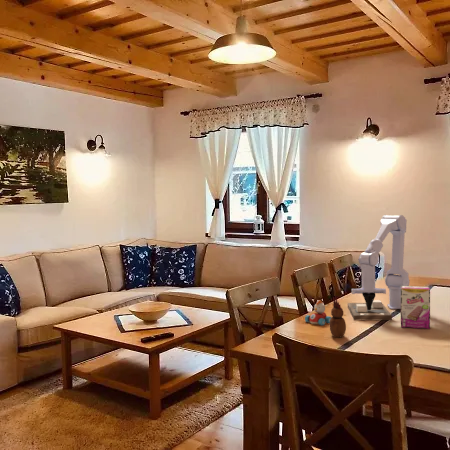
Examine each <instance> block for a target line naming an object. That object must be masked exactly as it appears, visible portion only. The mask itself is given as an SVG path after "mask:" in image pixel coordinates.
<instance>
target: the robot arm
mask: <svg viewBox="0 0 450 450" xmlns="http://www.w3.org/2000/svg"><path fill="white" fill-rule="evenodd" d="M407 221H408V220H407V219H406V217H405V216H404V215H403V214H399V215H394V214H392V215H390V214H384V215H382V217H381V219H380V228H379V229H378V232H377V234H376V236H375V238H373V239H371V240H370V242H369V243H368V245H367V246H366V249H365V250H364V252H362V253H360V254H359V256H358V264H359V266H360V267H359V268H360V269H361V287H360V288H351V294H353V295H355V294H362V297H363V299H364V301H365V302H364V303H366V305H367V309H368V310H371V306H372V303H373V300H375V299H376V294H385V295H386V294H387V289H388V291H389V292H388V296H389V297H388V301H389V303H388V304H387V307H388V308H389V309H390V310H401V286H410V278H409V272H407V270H405V269H404V259H405V258H404V257H405V234H406V233H407ZM389 234H391V236H392V244H391V245H392V246H391V247H392V248H391V268H389V269H388V270H387V271H386V274H385V278H384V283H385V286H386V287H387V289H386V288H381V287H379V288H377V287H376V265H377V263H378V261H379V259H378V258H379V253H380V252H381V251H382V249H383V247H384V244H383V242H384V240H385V239H386V237H387V236H388V235H389Z"/></svg>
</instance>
